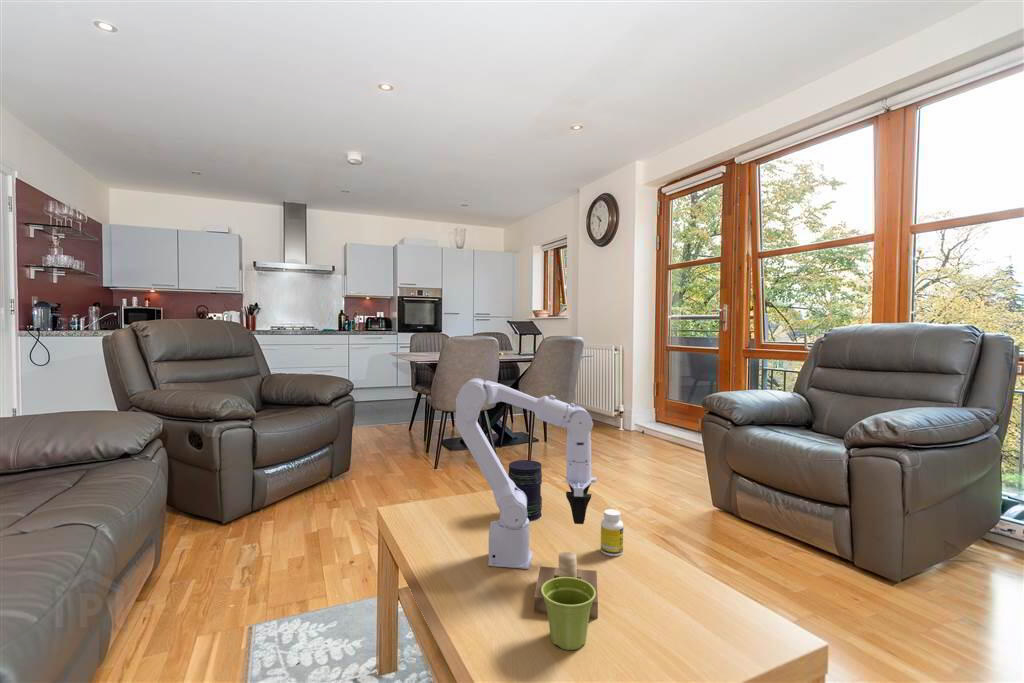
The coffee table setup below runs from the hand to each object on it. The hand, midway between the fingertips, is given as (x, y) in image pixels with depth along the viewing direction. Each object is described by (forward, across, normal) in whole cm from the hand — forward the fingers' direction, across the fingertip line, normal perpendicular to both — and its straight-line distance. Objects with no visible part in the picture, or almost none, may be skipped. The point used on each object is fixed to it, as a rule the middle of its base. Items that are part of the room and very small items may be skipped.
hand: (579, 516), depth 111 cm
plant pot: (+11, -29, +2) cm, 31 cm away
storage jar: (+10, +26, +16) cm, 32 cm away
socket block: (+10, -16, +2) cm, 19 cm away
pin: (+10, -16, +2) cm, 19 cm away
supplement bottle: (+11, +6, -8) cm, 15 cm away
